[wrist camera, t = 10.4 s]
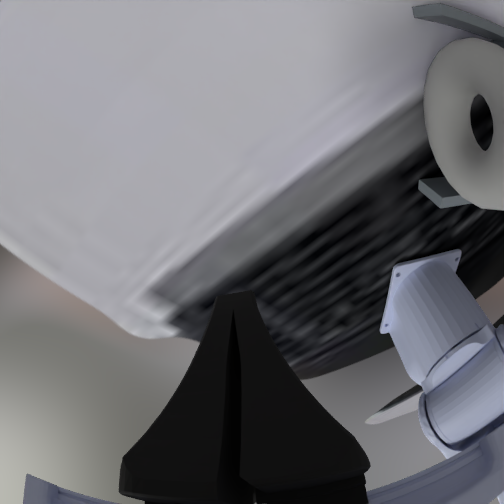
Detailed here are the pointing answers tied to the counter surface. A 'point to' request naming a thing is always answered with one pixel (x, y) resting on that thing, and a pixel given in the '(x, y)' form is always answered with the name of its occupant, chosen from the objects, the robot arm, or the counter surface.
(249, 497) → the robot arm
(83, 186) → the counter surface
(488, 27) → the bracket
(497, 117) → the donut
